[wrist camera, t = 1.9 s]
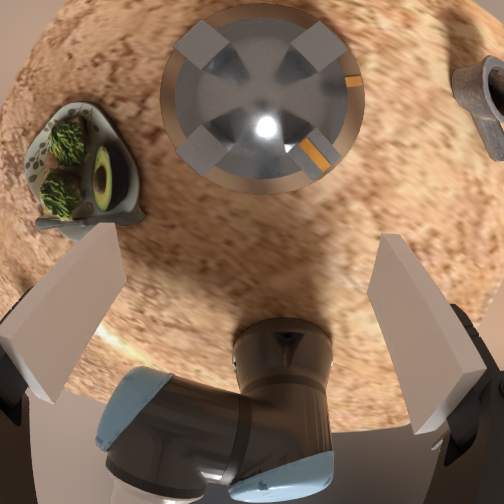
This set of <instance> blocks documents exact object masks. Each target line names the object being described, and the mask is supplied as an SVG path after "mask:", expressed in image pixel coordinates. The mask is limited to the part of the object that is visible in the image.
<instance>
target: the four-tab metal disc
mask: <svg viewBox="0 0 504 504" xmlns="http://www.w3.org/2000/svg"><path fill="white" fill-rule="evenodd" d="M173 47H174V48H175V49H177V50H178V51H179V52H180V53H181V54H183V55H184V56H185V57H186V59H185V60H184V62H183V64H182V66H181V69H180V71H179V74H178V77H177V82H176V87H175V109H176V114H177V118H178V121H179V124H180V127H181V129H182V131H183V133H184V135H185V137H186V140H185V141H184V142H183V144H182V145H181V146H180V147H179V148H178V149H177V150H176V151H175V153H176V154H177V155H179V156H180V157H181V158H182V159H183V160H184V161H185V162H186V163H187V164H188V165H189V166H190V167H191V168H192V169H193V170H195V171H196V172H197V173H198V174H199V175H200V176H201V177H202V178H203V177H204V176H205V175H206V174H207V173H208V172H209V171H210V170H211V169H212V168H213V167H214V166H215V167H217V168H219V169H221V170H223V171H225V172H227V173H230V174H233V175H236V176H240V177H245V178H252V179H273V178H279V177H284V176H287V175H291V174H294V173H296V172H299V171H301V170H303V171H304V172H305V174H306V175H307V176H308V177H309V178H310V179H311V180H312V181H314V180H315V179H316V178H317V177H319V176H320V175H321V174H322V173H323V172H325V171H326V170H327V169H328V168H330V167H331V166H332V165H333V164H334V163H336V162H337V161H338V160H339V159H340V158H342V156H341V155H340V154H339V153H338V151H337V150H336V149H335V148H334V147H333V146H332V145H333V144H334V142H335V140H336V139H337V137H338V135H339V134H340V131H341V129H342V127H343V125H344V121H345V117H346V114H347V106H348V91H347V85H346V80H345V77H344V74H343V71H342V69H341V66H340V64H339V62H338V60H337V59H336V58H338V57H339V56H340V55H342V54H343V53H344V52H346V51H347V50H348V49H347V48H346V47H345V46H344V44H343V43H342V42H341V41H340V40H339V39H338V38H337V37H336V36H335V35H334V34H333V33H332V32H331V31H330V30H329V29H328V28H327V27H326V26H325V25H324V24H323V23H322V22H321V21H318V22H317V23H316V24H314V25H313V26H312V27H310V28H309V29H308V30H307V29H305V28H303V27H301V26H299V25H297V24H294V23H291V22H288V21H285V20H280V19H275V18H266V17H256V18H246V19H241V20H237V21H233V22H230V23H227V24H225V25H223V26H221V27H219V28H217V29H214V28H212V27H211V26H210V25H209V24H207V23H206V22H205V21H203V20H202V19H201V20H200V21H199V22H198V23H197V24H196V25H194V26H193V27H192V28H191V29H190V30H189V31H188V32H187V33H186V34H185V35H184V36H183V37H182V38H181V39H180V40H179V41H178V42H177V43H176V44H175V45H174V46H173Z"/></svg>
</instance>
